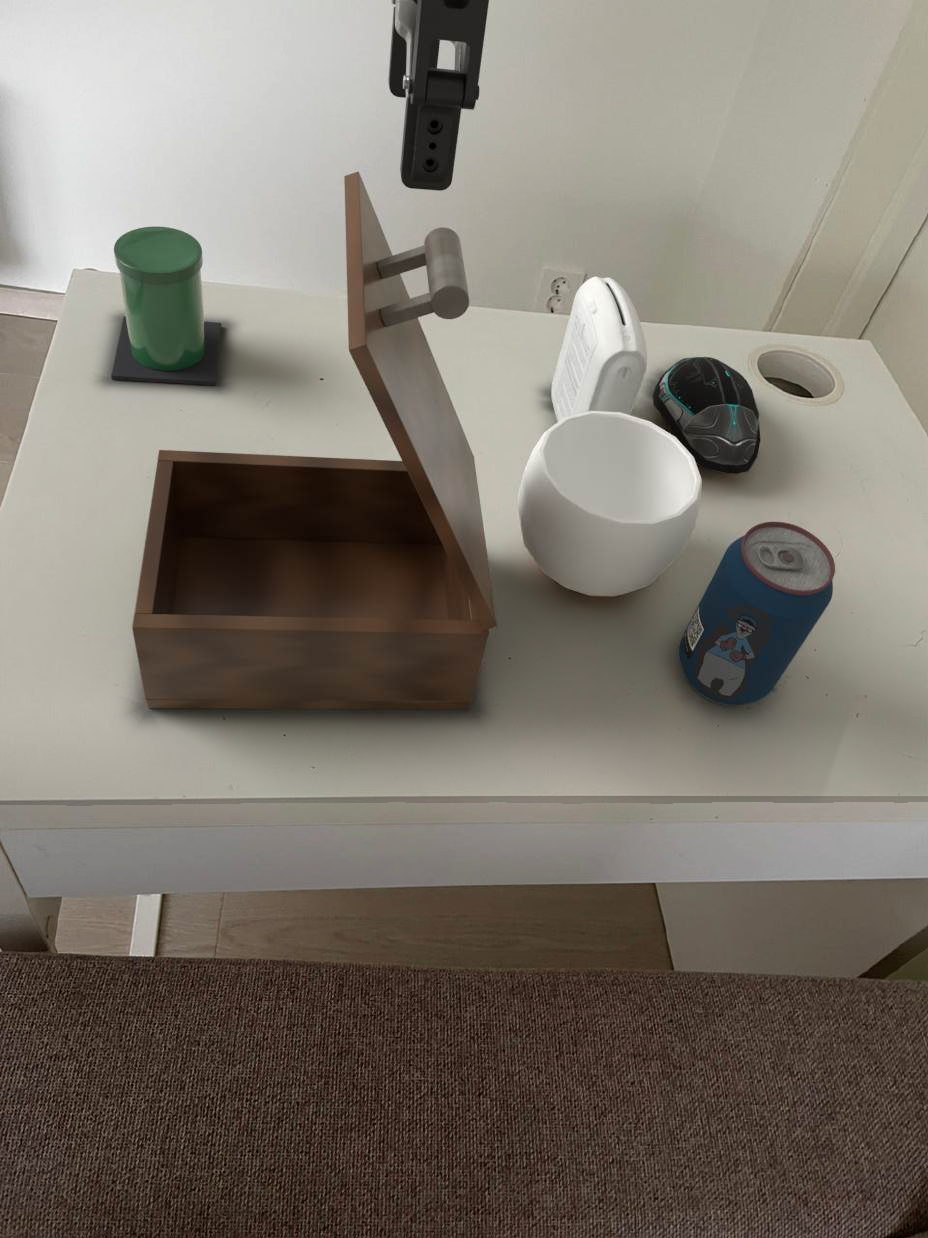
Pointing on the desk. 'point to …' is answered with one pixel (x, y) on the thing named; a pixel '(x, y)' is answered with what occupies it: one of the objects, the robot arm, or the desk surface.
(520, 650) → the desk surface
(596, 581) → the cup
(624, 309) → the photo printer
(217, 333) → the mat
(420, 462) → the lid
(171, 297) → the green pot
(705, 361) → the computer mouse
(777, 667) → the soda can
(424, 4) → the robot arm
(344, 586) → the wooden box
